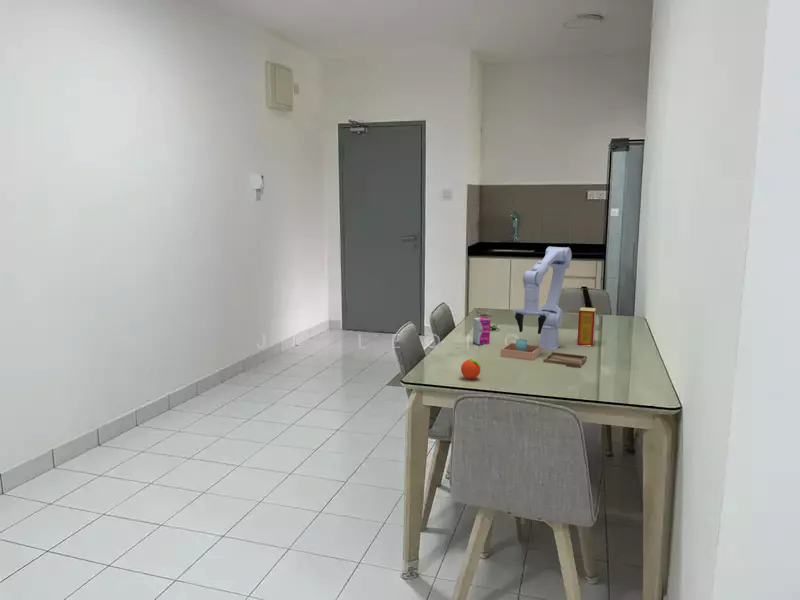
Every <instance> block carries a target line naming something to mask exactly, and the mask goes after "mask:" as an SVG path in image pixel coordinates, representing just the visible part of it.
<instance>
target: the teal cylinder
mask: <svg viewBox="0 0 800 600" xmlns="http://www.w3.org/2000/svg"><path fill="white" fill-rule="evenodd" d="M515 343H516V351H523V352H527V345H528V340H527V339H522V338H521V339H520V338H519V339H516V340H515Z"/></svg>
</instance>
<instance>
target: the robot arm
mask: <svg viewBox="0 0 800 600" xmlns="http://www.w3.org/2000/svg"><path fill="white" fill-rule="evenodd" d="M544 254H545V255H544V257H543V258H542V260H538V261H537V262H536V263H535V264H534V265H533V266H532V267H531V269H528V270H526V271H524V273H523V275H522V283H523V289H524V297H523V298H524V300H523V301H524V302H523V303H524V305H523V309H522V308H514V309H513V310H512V314H513V315H514V318H515V320H516V322H517V325H518V331H519V333H523V332H524V331H523V329H524V325H523V324H524V317H525V315H526V316H534V317H535V316H536V323H537V325H538V326H537V327H538V328H537V334H538V335H539V345H538V346H541V349H549V350H556V349H559V347H560V346H561V344H559V328H560V327H561V326H562V324H563V320H564V319H563V316H564V313H563V312H564V311H563V310H562V308H560V307H559V302H560V297H561V293H562V288H563V284H564V278H565V274H566V270H567V269H569V268H570V265H571V261H572V257H573V256H572V255H573V254H572V250H571V248H570V247H569V246H567V247H565V246H563V247H561V246H559V247H558V246H548V247H547V248H546V249H545V253H544ZM549 267H550V268H552V269H553V271H552V276H551V277H552V278H551V282H550V286H549V290H548V295H547V298H546V303H545V304H543V305H542V306H540V307H539V303H540V286H541V285H542V283H543V279H544V276H545V275H546V274H547V272H549V269H550V268H549Z"/></svg>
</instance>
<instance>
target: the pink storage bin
mask: <svg viewBox="0 0 800 600" xmlns="http://www.w3.org/2000/svg"><path fill="white" fill-rule="evenodd" d="M541 354H542V348H541V346H539V345H532V344H527V352H523V351H516V342H510V343H508V344H506V345H504V347H502V348H500V357H503V358H508V359H509V358H511V359H517V360H525V361H534V360H535V359H536V358H537V357H539V356H540V355H541Z"/></svg>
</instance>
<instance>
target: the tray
mask: <svg viewBox="0 0 800 600" xmlns="http://www.w3.org/2000/svg"><path fill="white" fill-rule="evenodd" d="M586 359H587V360H588V356H587V355H580V354H572V353H571V354H570V353H563V352H554V351H552V352H551V353H550V354H548V355H547V356H546V357H545V358H543V360H542V361H543V363H547V364H556V365H561V366H562V365H563V366H565V367H569V366H570V367H569V368H577V367H579V368H581V367H582V366H583V365H584V364H585V363H586V361H587V360H586ZM583 363H584V364H583ZM582 364H583V365H582ZM581 365H582V366H581Z"/></svg>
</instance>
